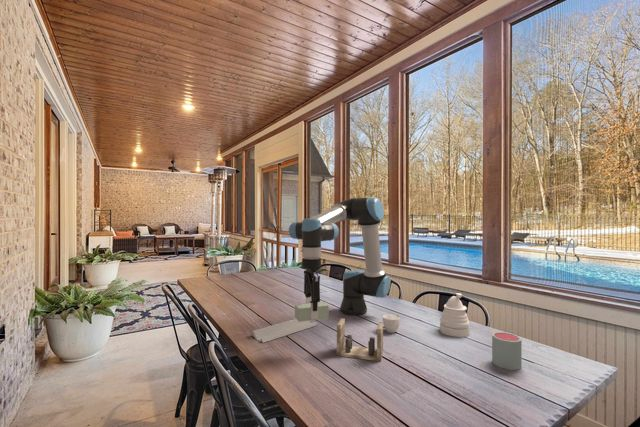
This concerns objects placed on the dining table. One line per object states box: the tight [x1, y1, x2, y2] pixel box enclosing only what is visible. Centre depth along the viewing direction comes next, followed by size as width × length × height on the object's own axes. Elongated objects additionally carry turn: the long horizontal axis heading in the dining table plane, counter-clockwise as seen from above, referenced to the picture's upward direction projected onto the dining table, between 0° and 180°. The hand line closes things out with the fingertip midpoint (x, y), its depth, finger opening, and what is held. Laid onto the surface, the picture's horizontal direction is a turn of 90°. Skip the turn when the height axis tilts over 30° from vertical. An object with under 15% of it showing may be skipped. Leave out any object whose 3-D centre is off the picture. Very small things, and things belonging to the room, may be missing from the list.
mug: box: [491, 331, 523, 371], centre depth 117 cm, size 14×9×10 cm
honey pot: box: [439, 292, 471, 338], centre depth 147 cm, size 13×13×18 cm
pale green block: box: [294, 301, 330, 322], centre depth 124 cm, size 12×6×5 cm, turn 110°
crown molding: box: [248, 318, 318, 343], centre depth 149 cm, size 31×12×4 cm, turn 133°
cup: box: [382, 313, 401, 334], centre depth 149 cm, size 8×10×7 cm
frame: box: [336, 317, 384, 362], centre depth 123 cm, size 17×8×12 cm, turn 74°
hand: (311, 316), depth 124 cm, fingers closed on pale green block, 6 cm apart
